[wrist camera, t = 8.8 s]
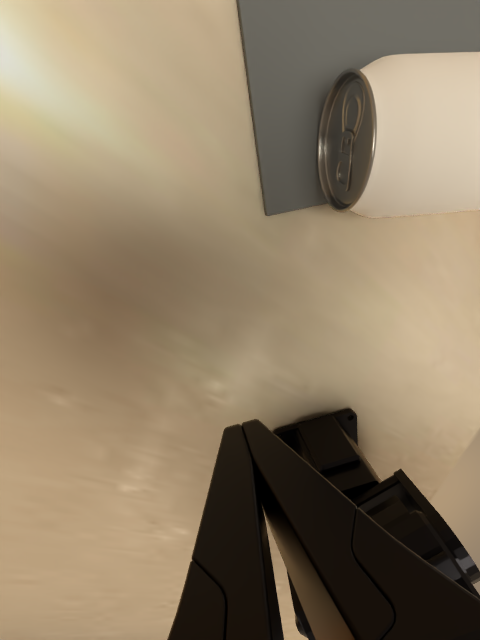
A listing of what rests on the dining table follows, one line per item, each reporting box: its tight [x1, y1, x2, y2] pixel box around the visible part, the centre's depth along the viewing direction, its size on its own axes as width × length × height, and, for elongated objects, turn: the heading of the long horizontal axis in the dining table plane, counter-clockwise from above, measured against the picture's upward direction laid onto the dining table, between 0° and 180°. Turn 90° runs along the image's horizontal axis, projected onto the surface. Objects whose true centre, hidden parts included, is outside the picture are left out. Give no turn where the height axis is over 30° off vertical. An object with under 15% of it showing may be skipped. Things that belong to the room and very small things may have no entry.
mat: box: [237, 0, 480, 216], centre depth 18 cm, size 11×14×1 cm
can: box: [317, 52, 480, 218], centre depth 17 cm, size 6×6×12 cm
